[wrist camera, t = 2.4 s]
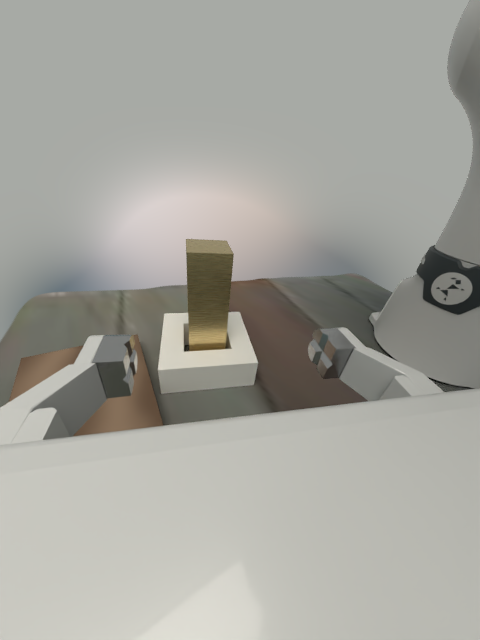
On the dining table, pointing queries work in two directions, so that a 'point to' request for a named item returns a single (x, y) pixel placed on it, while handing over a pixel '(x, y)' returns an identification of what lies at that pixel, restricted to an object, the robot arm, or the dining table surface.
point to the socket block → (204, 358)
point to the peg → (208, 293)
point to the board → (114, 411)
